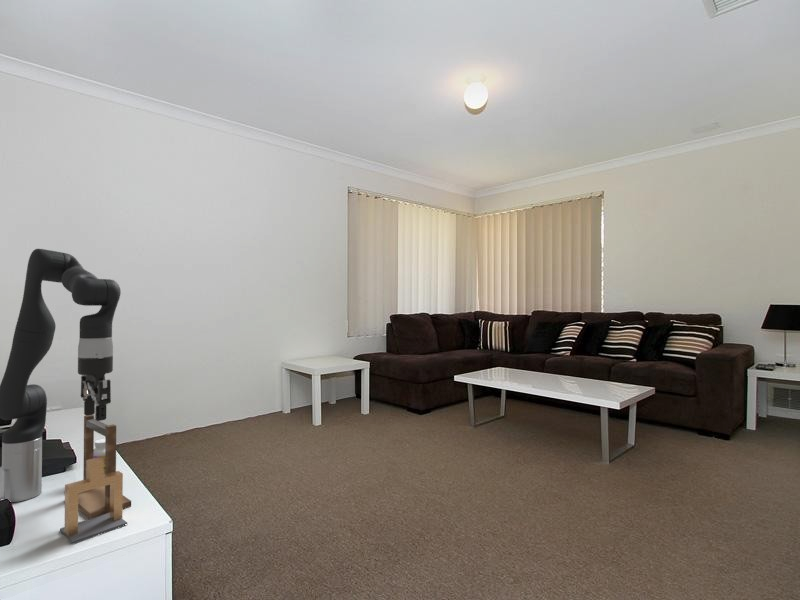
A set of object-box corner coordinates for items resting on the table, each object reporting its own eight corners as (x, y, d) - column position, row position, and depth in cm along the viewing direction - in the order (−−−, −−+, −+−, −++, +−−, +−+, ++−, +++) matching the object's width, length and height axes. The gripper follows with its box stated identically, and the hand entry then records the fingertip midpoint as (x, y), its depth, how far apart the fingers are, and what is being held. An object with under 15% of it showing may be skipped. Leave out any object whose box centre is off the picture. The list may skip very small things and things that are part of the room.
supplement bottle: (87, 484, 143) (87, 444, 143) (94, 476, 149) (95, 438, 149) (110, 482, 145) (111, 442, 145) (117, 474, 151) (117, 436, 151)
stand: (90, 519, 119) (91, 430, 120) (67, 499, 132) (68, 418, 132) (131, 506, 127) (131, 422, 127) (105, 488, 140) (106, 412, 140)
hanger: (68, 536, 109) (68, 467, 110) (64, 532, 111) (65, 464, 111) (122, 518, 119) (122, 454, 119) (118, 514, 121) (118, 452, 121)
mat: (72, 544, 107) (72, 541, 107) (59, 530, 113) (59, 528, 113) (127, 524, 116) (127, 522, 116) (112, 513, 123) (112, 511, 123)
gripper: (69, 354, 117) (69, 415, 117) (88, 358, 108) (87, 425, 108) (102, 352, 123) (101, 410, 122) (122, 355, 114) (121, 419, 114)
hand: (95, 417), depth 115 cm, fingers open, 8 cm apart
